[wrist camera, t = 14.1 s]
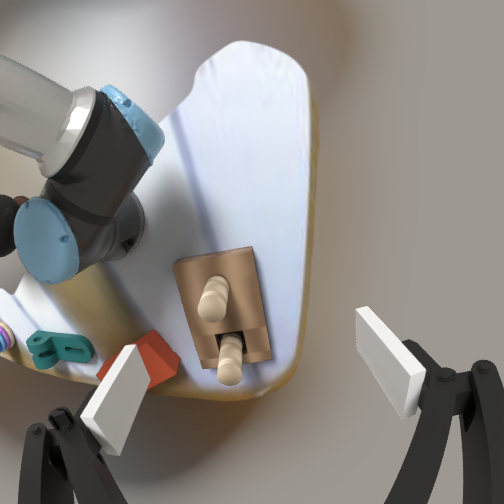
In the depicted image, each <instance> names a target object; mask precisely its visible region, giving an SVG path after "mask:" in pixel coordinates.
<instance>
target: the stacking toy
mask: <svg viewBox="0 0 504 504" xmlns="http://www.w3.org/2000/svg"><path fill="white" fill-rule="evenodd" d="M14 342H15V341H14V336H13V333H12V331H11V329H10V328H9V327H8V325H6V324H5V323H3V322H0V352H3V351H4V350H8V349H9V348H10V347H12V346H13V345H14Z"/></svg>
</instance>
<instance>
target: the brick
mask: <svg viewBox="0 0 504 504" xmlns="http://www.w3.org/2000/svg"><path fill="white" fill-rule="evenodd" d="M131 345H136V346H137V348H138V351H139V353H140V356H141V358H142V360H143V363H144V365H145V368H146V370H147V372H148V374H149V377H150V379H151V380H150V383H149V385H148V387H147V390H148V389H150V388H152V387H154V386H156V385H158V384H160V383H162V382H164V381H165V380H167V379H169V378H171V377H173V376H175V375H176V374H177V371H178V368H179V364H180V360H181V358H180V357H179V356H178V355H177V354H176V353H175V352H174V351H173V350H172V349H171V348H170V346H169V345H168V344H167V343H166V342H165V341H164V339H163V338H162V337H161V336H160V335H159V334H158V333H157V332H156V330H152V331H151V332H149V333H148V334H146V335H145V336H143V337H142V338H140V339H139V340H137V341H135V342H134V343H133V344H131ZM120 353H121V351H120V352H119V353H117V354H116V355H114V356H113V357H111V358H110V359H108V360H107V361H105V363H104V364H103V366H102V367H101V369H100V371H99V372H98V373H97V374H96V376H97V377H98V379H99V380H100V381H101V382H102V380H103V379H104V377H105V376H106V374H107V373H108V371H109V370H110V368H111V366H112V365H113V363H114V362H115V360H116V359H117V357H118V356H119V354H120Z"/></svg>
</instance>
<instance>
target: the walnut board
mask: <svg viewBox="0 0 504 504" xmlns="http://www.w3.org/2000/svg"><path fill="white" fill-rule="evenodd" d="M172 266H173V270H174V274H175V278H176V282H177V285H178V289H179V293H180V296H181V300H182V304H183V307H184V311H185V314H186V318H187V321H188V324H189V328H190V331H191V334H192V338H193V341H194V344H195V347H196V350H197V354H198V357H199V360H200V363H201V366H202V369H209V368H217V367H218V362H219V355H220V344H221V341H220V337H219V334H220V333H227V332H234V331H240V330H243V332H244V337H245V341H246V343H245V344H243V347H242V364H247V363H253V362H260V361H266V360H271V359H272V355H271V349H270V344H269V338H268V333H267V327H266V322H265V316H264V311H263V305H262V300H261V294H260V289H259V283H258V278H257V272H256V267H255V261H254V256H253V250H252V246H250V247H244V248H238V249H233V250H227V251H222V252H216V253H211V254H205V255H200V256H195V257H189V258H184V259H178V260H177V261H176V262H175V263H174V264H173V265H172Z"/></svg>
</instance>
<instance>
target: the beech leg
mask: <svg viewBox="0 0 504 504" xmlns="http://www.w3.org/2000/svg"><path fill="white" fill-rule="evenodd" d="M242 347H243V343H242V331H241V330H240V331H234V332H227V333H222V340H221V344H220V355H219V362H218V370H217V379H218V380H219V382H221V383H222V384H224V385H228V386H232V385H236V384H238V383H239V382H240V381H241V379H242Z"/></svg>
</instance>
